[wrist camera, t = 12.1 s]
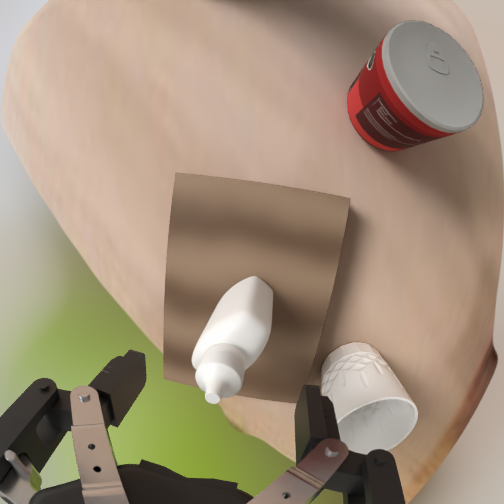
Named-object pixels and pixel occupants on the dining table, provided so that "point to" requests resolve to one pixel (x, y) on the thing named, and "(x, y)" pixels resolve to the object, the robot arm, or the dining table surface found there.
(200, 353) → the eye dropper bottle
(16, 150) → the dining table surface
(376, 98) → the canned food
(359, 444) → the white cup
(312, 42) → the dining table surface
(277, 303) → the walnut base board
